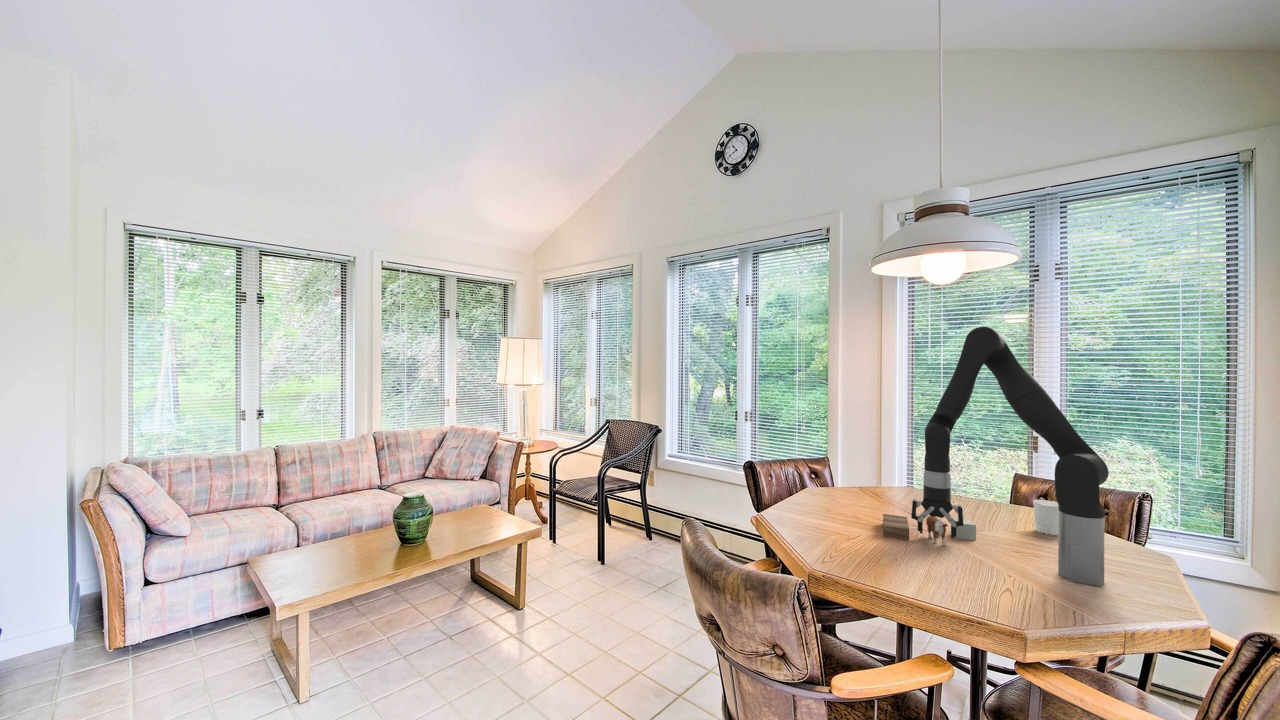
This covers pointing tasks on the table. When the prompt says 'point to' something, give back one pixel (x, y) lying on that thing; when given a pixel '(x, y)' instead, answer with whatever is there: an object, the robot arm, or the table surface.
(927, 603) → the table surface
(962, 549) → the table surface
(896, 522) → the pedestal
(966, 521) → the sage cube
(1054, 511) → the light grey block
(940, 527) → the bull figurine
